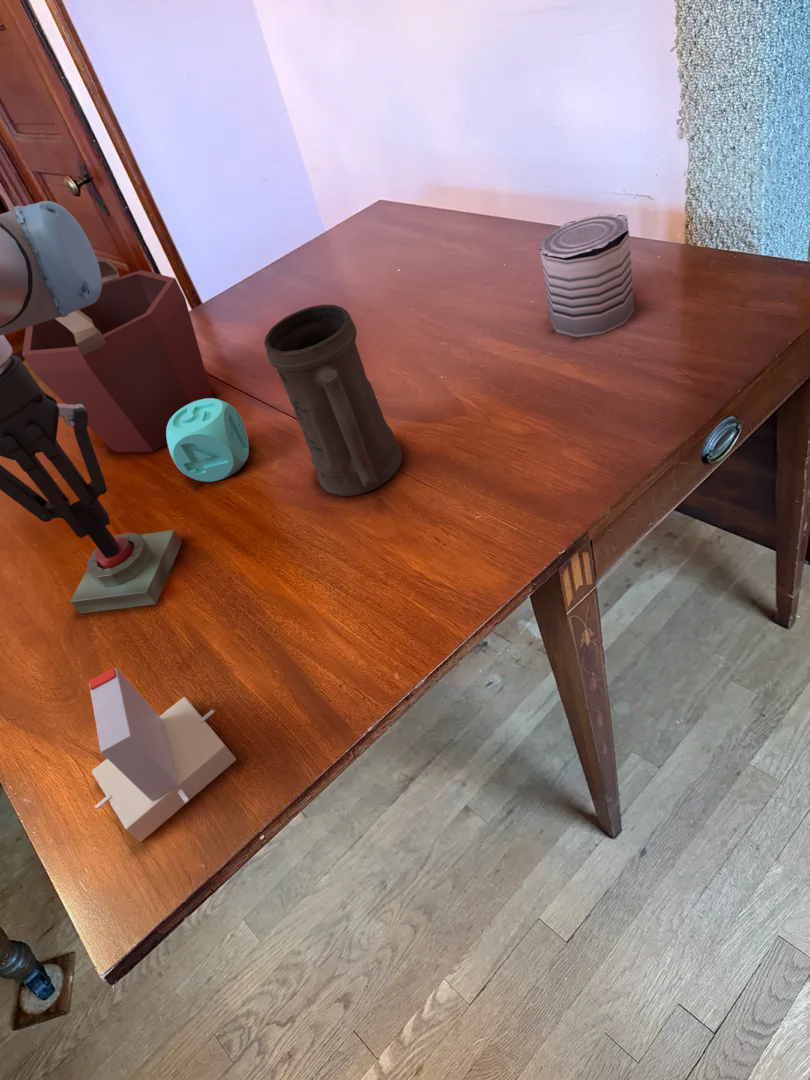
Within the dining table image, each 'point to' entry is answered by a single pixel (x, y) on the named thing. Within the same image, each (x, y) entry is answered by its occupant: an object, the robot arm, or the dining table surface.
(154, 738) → the grey lever handle
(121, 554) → the button
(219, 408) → the decorative dice
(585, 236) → the can
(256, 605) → the dining table surface
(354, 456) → the beer stein
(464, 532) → the dining table surface
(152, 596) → the button block
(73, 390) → the bucket
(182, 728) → the tap base
